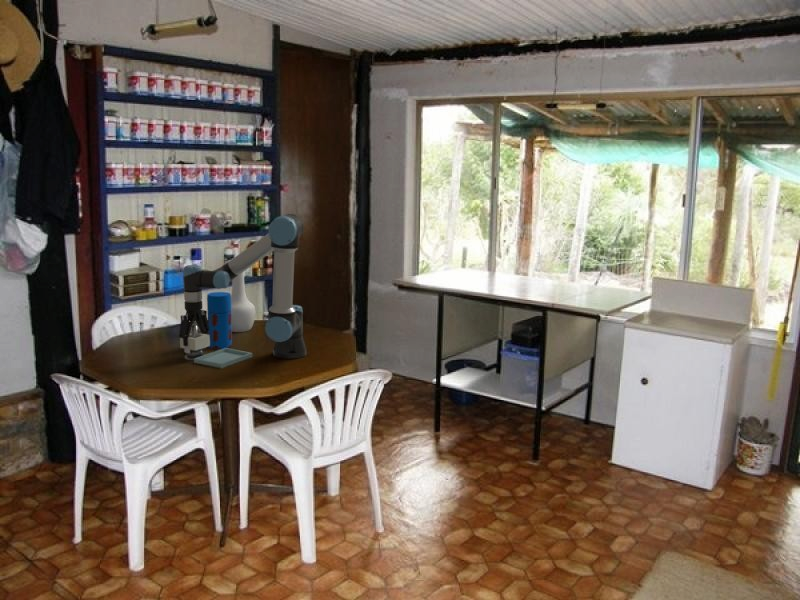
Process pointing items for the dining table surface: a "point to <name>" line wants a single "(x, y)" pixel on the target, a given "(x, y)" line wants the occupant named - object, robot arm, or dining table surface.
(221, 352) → the tray
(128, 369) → the dining table surface
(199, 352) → the stake
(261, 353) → the dining table surface
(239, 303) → the vase
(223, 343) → the thermos
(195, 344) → the ring
